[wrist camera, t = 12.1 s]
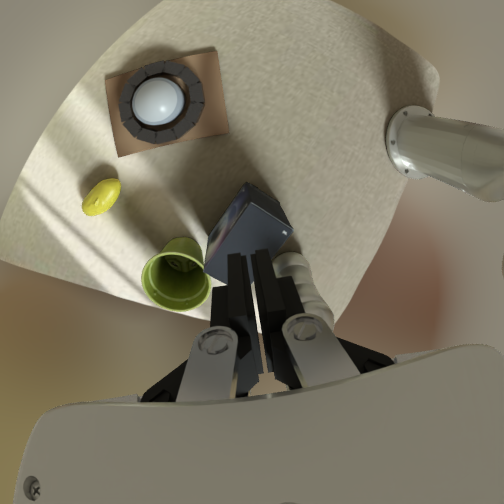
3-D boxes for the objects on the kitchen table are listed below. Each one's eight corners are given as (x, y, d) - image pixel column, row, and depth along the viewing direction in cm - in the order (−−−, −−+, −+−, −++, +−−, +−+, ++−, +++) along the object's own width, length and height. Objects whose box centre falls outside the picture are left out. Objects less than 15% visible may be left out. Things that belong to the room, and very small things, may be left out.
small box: (244, 178, 38) (250, 199, 29) (280, 202, 40) (297, 229, 31) (205, 236, 42) (200, 272, 32) (241, 256, 44) (245, 295, 35)
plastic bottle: (314, 261, 45) (360, 348, 28) (286, 288, 47) (315, 381, 30) (287, 239, 43) (327, 325, 25) (258, 268, 45) (278, 364, 27)
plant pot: (175, 214, 40) (164, 238, 32) (225, 249, 43) (225, 279, 35) (144, 257, 42) (129, 287, 35) (191, 288, 46) (185, 322, 38)
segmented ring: (198, 57, 29) (196, 53, 26) (210, 132, 34) (208, 133, 32) (121, 77, 29) (114, 75, 26) (133, 149, 34) (127, 152, 31)
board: (217, 52, 29) (217, 50, 29) (229, 132, 35) (229, 132, 34) (107, 81, 29) (104, 80, 28) (120, 156, 35) (118, 157, 34)
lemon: (82, 197, 37) (70, 204, 33) (117, 168, 36) (107, 174, 32) (95, 218, 39) (85, 227, 35) (132, 191, 37) (123, 199, 34)
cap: (181, 76, 30) (175, 71, 26) (190, 117, 33) (184, 117, 28) (139, 89, 30) (127, 86, 26) (147, 129, 33) (137, 131, 28)
